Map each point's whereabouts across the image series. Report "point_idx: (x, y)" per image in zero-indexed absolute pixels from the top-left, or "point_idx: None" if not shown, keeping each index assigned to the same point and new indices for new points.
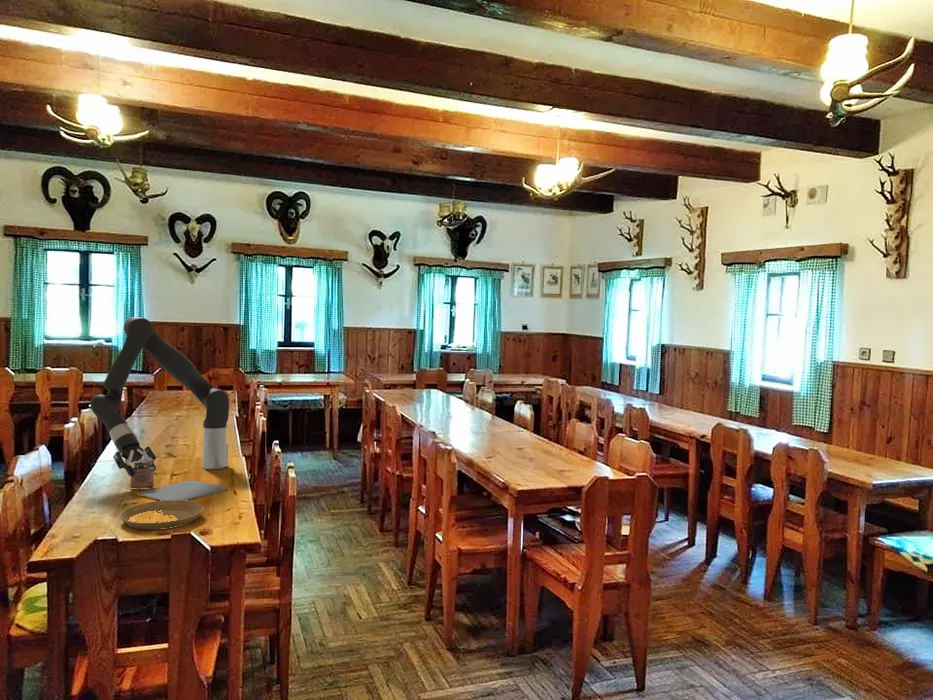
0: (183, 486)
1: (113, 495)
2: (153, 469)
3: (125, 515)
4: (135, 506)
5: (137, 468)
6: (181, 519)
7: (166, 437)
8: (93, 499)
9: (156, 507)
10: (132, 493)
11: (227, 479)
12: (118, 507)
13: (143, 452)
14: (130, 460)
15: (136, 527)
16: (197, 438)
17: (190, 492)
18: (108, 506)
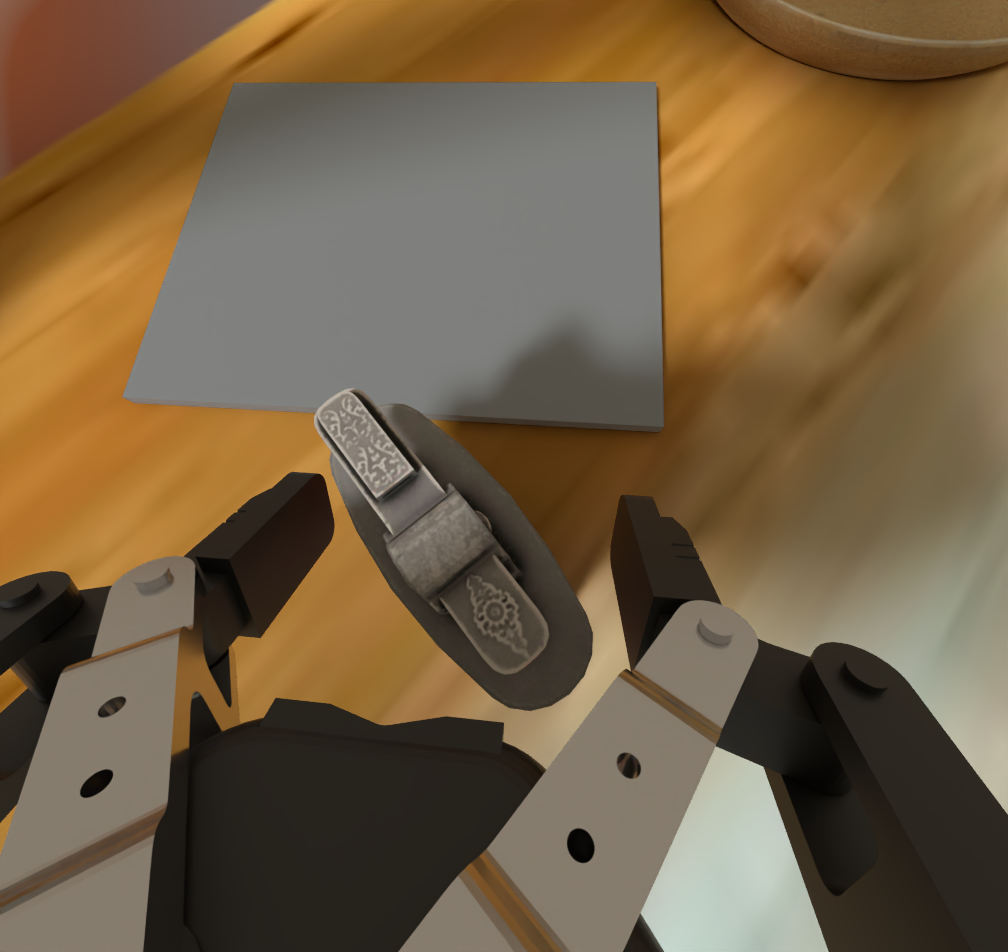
0: (321, 298)
1: (786, 578)
2: (382, 411)
3: None
4: (981, 40)
5: (518, 573)
6: None
7: None
8: (985, 617)
9: (814, 50)
10: (643, 494)
11: (7, 249)
12: (934, 278)
13: (19, 808)
14: (649, 681)
15: None
16: None
17: (426, 162)
18: (979, 348)
